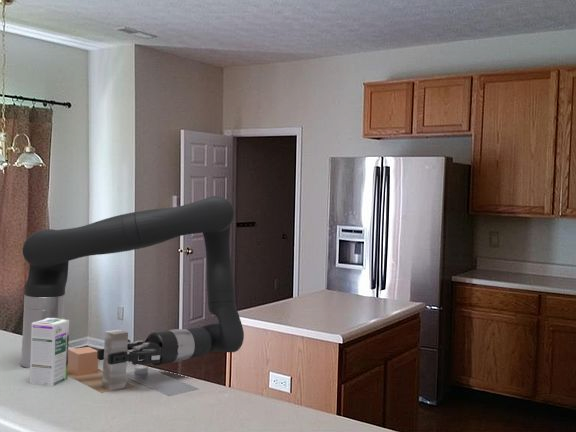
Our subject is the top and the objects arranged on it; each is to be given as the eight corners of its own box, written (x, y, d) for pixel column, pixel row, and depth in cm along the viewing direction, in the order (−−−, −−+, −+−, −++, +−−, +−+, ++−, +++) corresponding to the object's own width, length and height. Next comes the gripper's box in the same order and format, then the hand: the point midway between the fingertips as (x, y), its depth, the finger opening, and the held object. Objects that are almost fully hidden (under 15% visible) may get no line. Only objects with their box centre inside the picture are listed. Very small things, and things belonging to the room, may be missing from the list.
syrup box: (52, 391, 126) (55, 323, 126) (28, 388, 127) (31, 321, 127) (67, 383, 132) (70, 319, 132) (44, 380, 133) (47, 316, 133)
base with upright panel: (57, 374, 137) (60, 319, 137) (89, 369, 143) (92, 316, 143) (101, 397, 124) (104, 335, 123) (134, 390, 129) (137, 331, 129)
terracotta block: (67, 371, 137) (68, 349, 137) (87, 367, 141) (88, 346, 141) (77, 376, 134) (78, 354, 134) (97, 372, 138) (98, 351, 138)
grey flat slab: (118, 377, 138) (119, 367, 138) (148, 372, 144) (148, 361, 144) (168, 400, 124) (169, 388, 124) (199, 393, 130) (199, 382, 130)
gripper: (153, 325, 143) (87, 333, 131) (189, 336, 133) (121, 346, 121) (152, 355, 143) (86, 367, 131) (187, 369, 133) (119, 382, 121)
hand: (103, 357), depth 126 cm, fingers open, 3 cm apart
